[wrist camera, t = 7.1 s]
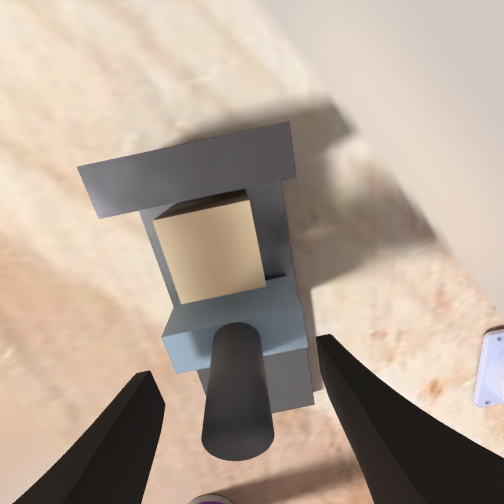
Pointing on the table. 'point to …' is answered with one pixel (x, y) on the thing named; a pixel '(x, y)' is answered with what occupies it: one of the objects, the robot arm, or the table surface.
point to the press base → (206, 185)
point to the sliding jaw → (236, 360)
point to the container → (210, 500)
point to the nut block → (211, 246)
